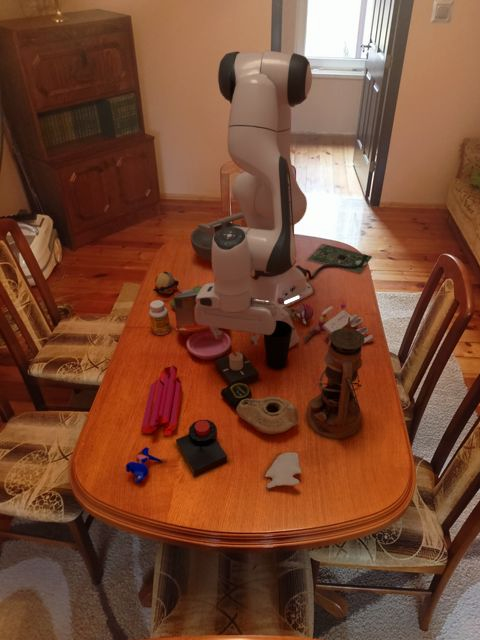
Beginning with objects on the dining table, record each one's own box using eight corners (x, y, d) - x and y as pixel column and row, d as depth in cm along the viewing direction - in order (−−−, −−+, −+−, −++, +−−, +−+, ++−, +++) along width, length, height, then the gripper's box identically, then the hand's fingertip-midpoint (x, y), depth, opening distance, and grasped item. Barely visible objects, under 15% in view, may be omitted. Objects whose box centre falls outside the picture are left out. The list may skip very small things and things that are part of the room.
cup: (270, 375, 131) (271, 341, 123) (258, 359, 136) (257, 325, 128) (295, 366, 133) (297, 332, 125) (281, 350, 138) (283, 317, 131)
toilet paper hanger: (247, 219, 186) (245, 204, 182) (267, 226, 176) (266, 210, 173) (197, 236, 175) (194, 220, 172) (217, 243, 166) (214, 226, 163)
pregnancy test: (352, 320, 146) (354, 317, 146) (332, 336, 138) (334, 333, 137) (333, 304, 148) (335, 301, 147) (312, 319, 140) (314, 316, 139)
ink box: (272, 334, 145) (258, 310, 136) (284, 324, 145) (271, 299, 137) (288, 350, 139) (275, 325, 130) (301, 339, 140) (289, 313, 131)
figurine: (137, 470, 100) (143, 487, 103) (157, 446, 106) (163, 462, 109) (119, 466, 102) (126, 483, 105) (140, 443, 108) (146, 459, 111)
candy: (345, 349, 139) (347, 332, 135) (317, 347, 140) (318, 330, 136) (344, 313, 153) (347, 297, 149) (319, 311, 153) (320, 295, 150)
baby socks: (357, 311, 148) (359, 317, 149) (341, 319, 148) (343, 325, 150) (374, 336, 139) (376, 342, 141) (357, 345, 139) (360, 350, 141)
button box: (210, 427, 116) (209, 415, 114) (231, 459, 109) (231, 448, 107) (174, 442, 113) (172, 430, 110) (194, 476, 106) (192, 465, 103)
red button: (206, 423, 113) (205, 418, 112) (212, 433, 110) (212, 427, 109) (192, 429, 111) (192, 423, 110) (199, 438, 109) (198, 433, 108)
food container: (206, 286, 150) (213, 320, 152) (159, 297, 141) (167, 333, 144) (233, 285, 137) (240, 322, 139) (183, 298, 128) (191, 337, 131)
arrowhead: (260, 483, 102) (269, 451, 110) (263, 491, 103) (271, 458, 111) (298, 481, 100) (303, 448, 108) (300, 489, 101) (306, 456, 109)
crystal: (137, 425, 110) (154, 354, 129) (140, 440, 113) (155, 369, 132) (174, 426, 110) (185, 355, 129) (175, 441, 114) (186, 370, 133)
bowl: (192, 246, 187) (190, 222, 180) (245, 244, 188) (245, 220, 182) (192, 273, 171) (190, 248, 165) (250, 270, 173) (249, 245, 166)
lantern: (303, 394, 125) (311, 296, 106) (353, 393, 125) (370, 296, 106) (310, 445, 112) (320, 345, 93) (366, 444, 112) (387, 344, 93)
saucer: (212, 331, 145) (211, 322, 143) (240, 350, 139) (239, 341, 137) (178, 349, 139) (177, 341, 137) (206, 370, 132) (205, 361, 130)
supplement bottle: (166, 322, 149) (161, 296, 143) (173, 331, 146) (169, 305, 139) (149, 328, 147) (144, 302, 141) (157, 337, 143) (152, 311, 137)
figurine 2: (270, 312, 136) (322, 304, 136) (264, 297, 147) (312, 290, 148) (274, 347, 140) (325, 339, 141) (268, 330, 152) (315, 322, 153)
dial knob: (245, 367, 128) (245, 356, 126) (233, 372, 127) (232, 361, 125) (239, 360, 131) (238, 349, 128) (227, 364, 130) (226, 353, 127)
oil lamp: (238, 405, 122) (237, 382, 117) (298, 408, 121) (299, 385, 116) (233, 439, 114) (232, 416, 108) (297, 443, 113) (299, 419, 108)
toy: (160, 267, 165) (142, 272, 151) (185, 269, 164) (169, 274, 150) (160, 290, 168) (142, 297, 153) (185, 292, 166) (169, 299, 152)
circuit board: (359, 273, 172) (359, 271, 171) (308, 259, 179) (308, 258, 179) (372, 257, 181) (372, 255, 180) (322, 244, 188) (323, 243, 188)
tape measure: (219, 398, 124) (219, 387, 122) (242, 387, 127) (242, 377, 125) (233, 414, 120) (233, 404, 117) (257, 403, 123) (256, 392, 120)
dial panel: (241, 359, 136) (240, 350, 134) (258, 380, 129) (258, 371, 127) (215, 368, 133) (214, 360, 131) (232, 390, 126) (231, 382, 124)
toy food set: (182, 322, 149) (181, 313, 147) (164, 302, 157) (163, 293, 155) (220, 309, 154) (219, 300, 152) (201, 290, 163) (200, 281, 161)
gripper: (279, 294, 115) (279, 338, 124) (198, 283, 119) (203, 327, 128) (273, 309, 111) (273, 354, 120) (189, 298, 115) (195, 342, 124)
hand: (236, 340), depth 124 cm, fingers open, 8 cm apart
